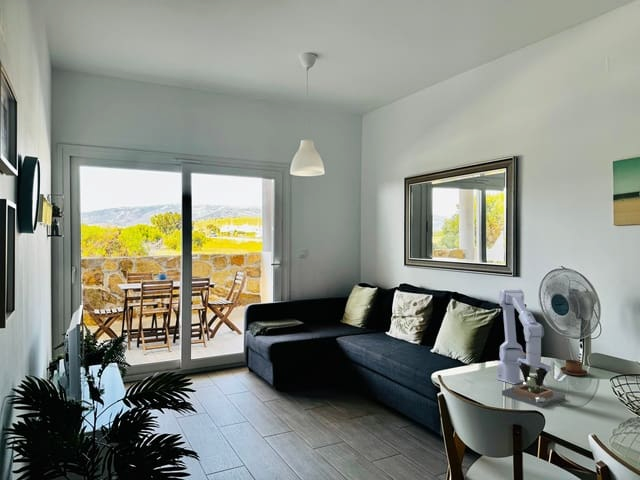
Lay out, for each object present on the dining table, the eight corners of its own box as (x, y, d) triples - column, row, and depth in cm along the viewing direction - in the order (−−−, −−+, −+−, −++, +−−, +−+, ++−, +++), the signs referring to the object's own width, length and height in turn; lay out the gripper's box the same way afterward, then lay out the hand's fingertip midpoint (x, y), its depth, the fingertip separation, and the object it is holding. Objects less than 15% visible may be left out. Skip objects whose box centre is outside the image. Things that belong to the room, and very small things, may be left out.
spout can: (524, 391, 191) (524, 374, 192) (531, 389, 194) (530, 372, 194) (535, 394, 187) (534, 377, 187) (542, 392, 190) (541, 374, 190)
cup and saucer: (562, 369, 233) (563, 357, 233) (589, 373, 225) (589, 361, 225) (558, 374, 223) (558, 362, 223) (585, 379, 216) (585, 366, 216)
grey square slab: (502, 395, 193) (502, 387, 193) (525, 387, 203) (525, 379, 203) (542, 408, 178) (542, 399, 178) (565, 399, 188) (565, 391, 188)
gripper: (555, 354, 186) (555, 386, 186) (524, 347, 199) (524, 377, 199) (545, 356, 182) (544, 389, 182) (514, 349, 195) (514, 380, 195)
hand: (533, 383), depth 190 cm, fingers open, 6 cm apart
